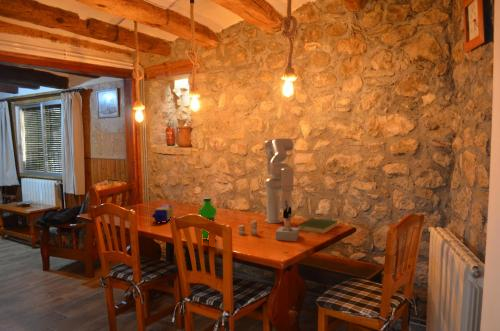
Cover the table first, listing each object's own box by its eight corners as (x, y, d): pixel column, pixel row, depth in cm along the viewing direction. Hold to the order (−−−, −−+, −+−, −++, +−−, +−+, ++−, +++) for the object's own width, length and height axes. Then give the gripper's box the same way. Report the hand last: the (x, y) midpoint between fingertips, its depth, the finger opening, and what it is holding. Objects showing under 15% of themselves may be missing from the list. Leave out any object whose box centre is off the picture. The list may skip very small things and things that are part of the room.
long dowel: (285, 236, 229) (284, 214, 228) (291, 237, 228) (291, 214, 227) (283, 238, 225) (283, 215, 224) (290, 238, 224) (290, 215, 223)
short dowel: (239, 232, 240) (239, 225, 239) (245, 233, 239) (245, 225, 238) (237, 234, 236) (237, 226, 236) (243, 234, 235) (243, 226, 234)
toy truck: (173, 217, 291) (173, 204, 290) (166, 224, 266) (165, 210, 265) (160, 217, 291) (160, 204, 290) (152, 224, 266) (151, 210, 266)
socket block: (279, 234, 234) (279, 226, 233) (299, 235, 230) (299, 227, 230) (275, 239, 222) (275, 231, 222) (296, 240, 219) (295, 232, 218)
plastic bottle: (217, 240, 222) (217, 199, 220) (200, 241, 219) (199, 199, 218) (215, 236, 231) (215, 196, 230) (198, 237, 229) (197, 197, 227)
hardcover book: (312, 223, 265) (312, 218, 265) (337, 226, 255) (337, 221, 255) (296, 230, 245) (296, 225, 244) (323, 234, 234) (323, 228, 234)
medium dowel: (251, 233, 237) (251, 221, 237) (257, 233, 236) (257, 221, 236) (250, 234, 234) (250, 222, 233) (256, 235, 233) (256, 222, 232)
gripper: (283, 185, 233) (283, 212, 235) (278, 190, 217) (278, 219, 219) (295, 186, 231) (295, 213, 233) (291, 190, 215) (291, 220, 217)
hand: (287, 216), depth 226 cm, fingers open, 9 cm apart
